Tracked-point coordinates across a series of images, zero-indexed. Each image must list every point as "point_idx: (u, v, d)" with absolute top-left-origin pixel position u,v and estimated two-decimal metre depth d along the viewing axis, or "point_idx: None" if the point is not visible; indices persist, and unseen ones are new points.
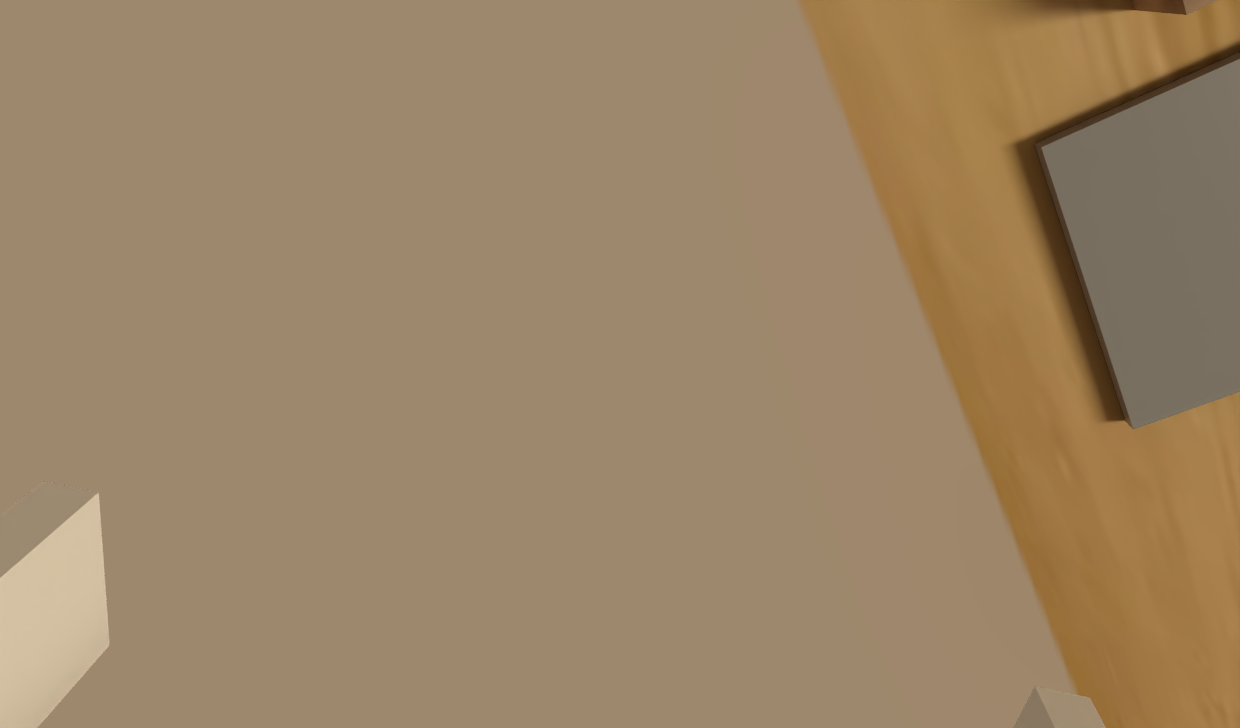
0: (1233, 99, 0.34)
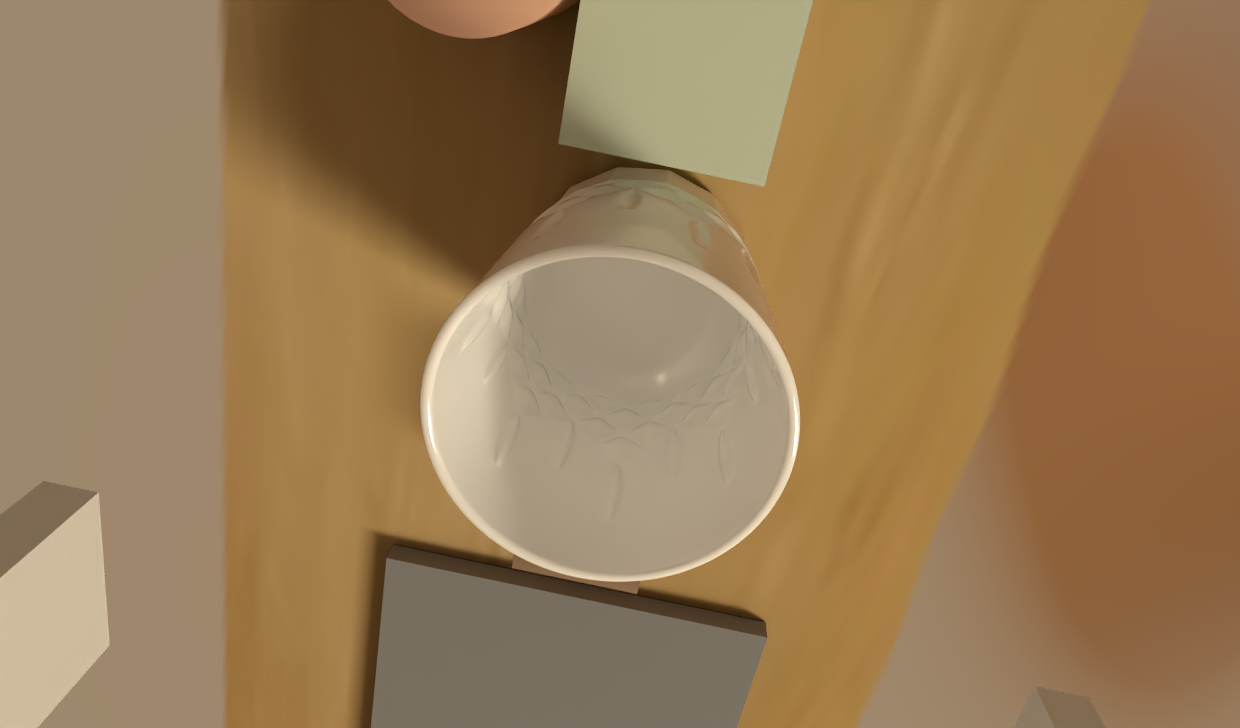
0: (567, 626, 0.32)
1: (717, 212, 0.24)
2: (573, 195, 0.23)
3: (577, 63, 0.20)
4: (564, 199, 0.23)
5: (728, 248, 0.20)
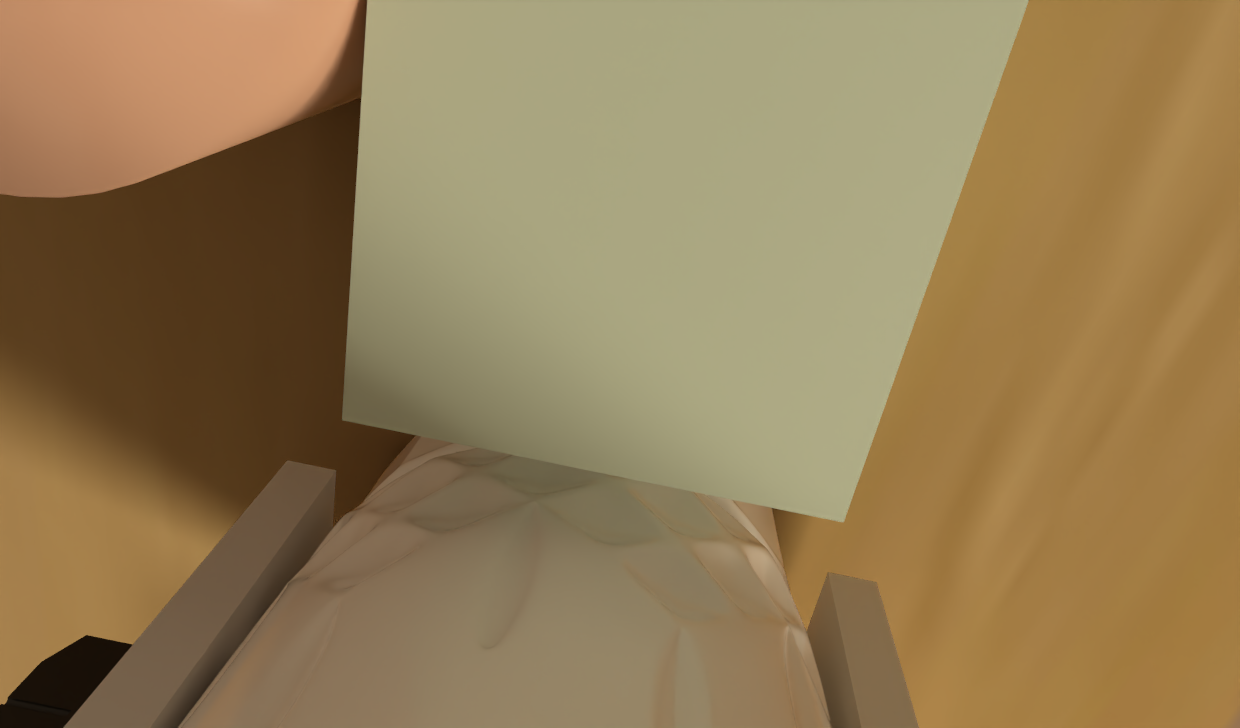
0: None
1: None
2: (417, 477, 0.11)
3: (370, 240, 0.08)
4: (396, 488, 0.11)
5: None
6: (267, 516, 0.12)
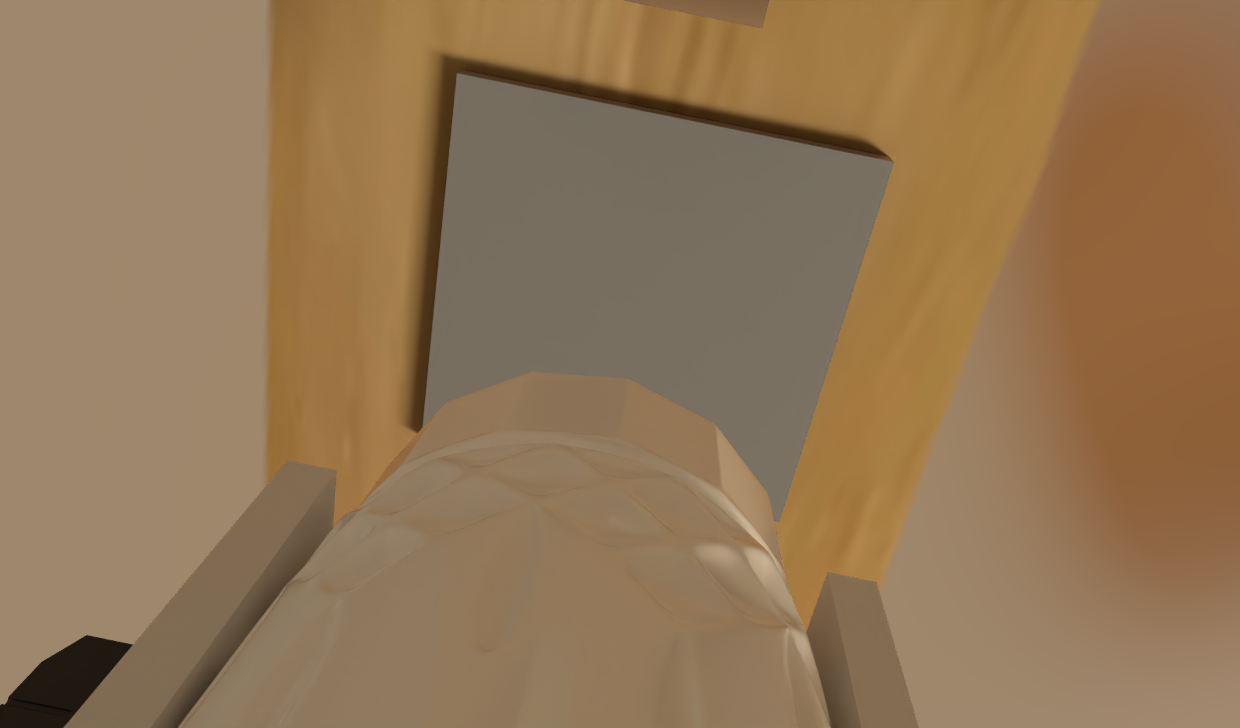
0: (663, 160, 0.28)
1: (723, 495, 0.12)
2: (416, 479, 0.11)
3: None
4: (395, 489, 0.11)
5: None
6: (268, 516, 0.12)
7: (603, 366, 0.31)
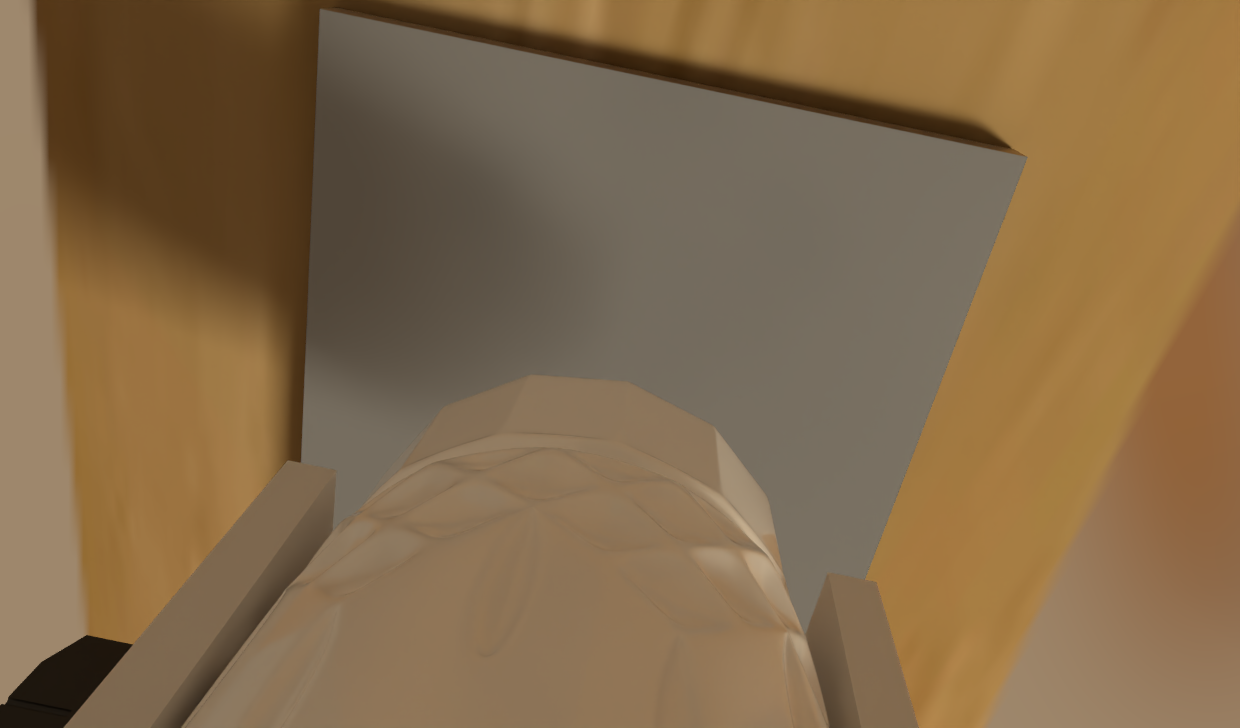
0: (654, 153, 0.18)
1: (722, 498, 0.12)
2: (415, 483, 0.11)
3: None
4: (395, 493, 0.11)
5: None
6: (268, 516, 0.12)
7: None
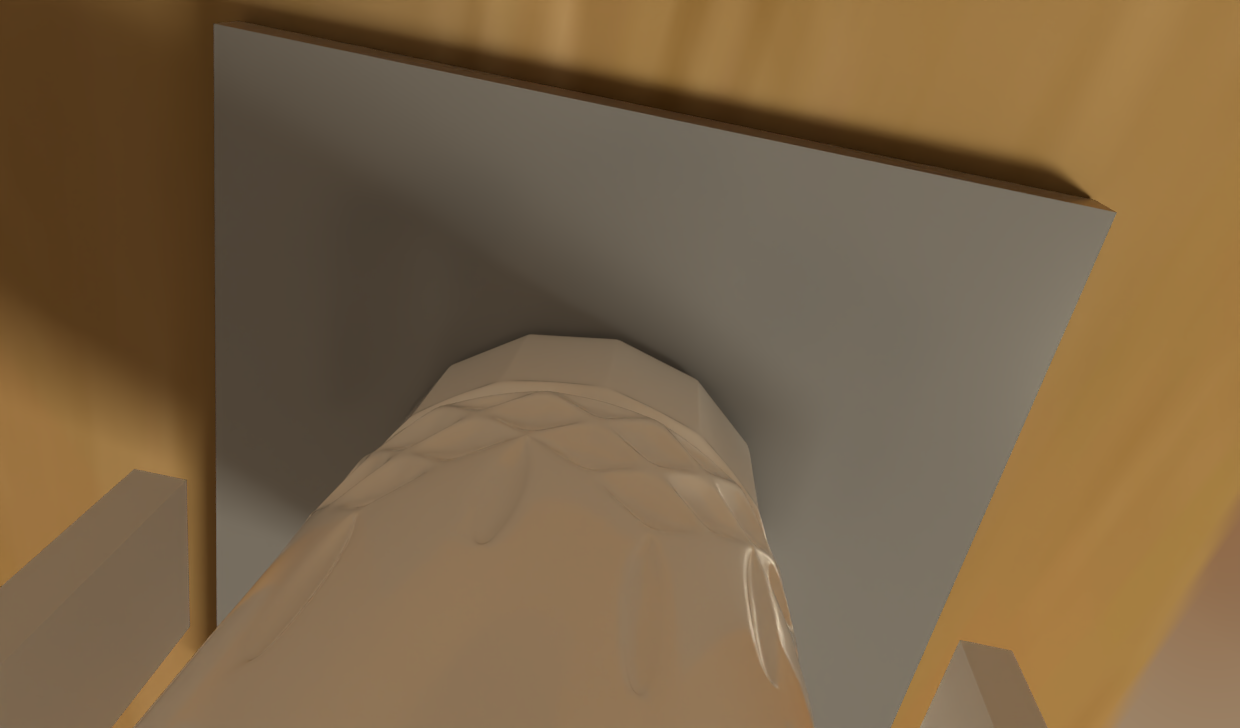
0: (641, 205, 0.14)
1: (700, 438, 0.13)
2: (424, 423, 0.12)
3: None
4: (406, 432, 0.12)
5: (713, 622, 0.09)
6: (95, 530, 0.11)
7: None
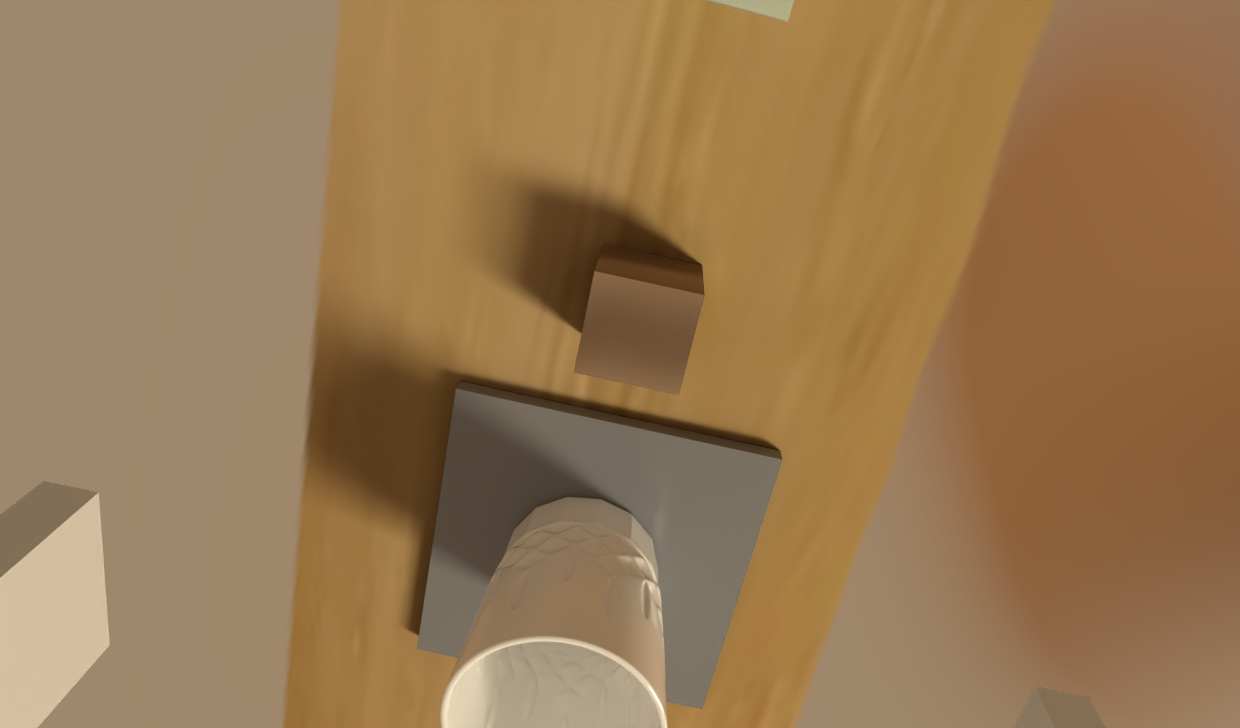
0: (610, 452, 0.37)
1: (631, 541, 0.36)
2: (535, 537, 0.35)
3: None
4: (529, 540, 0.35)
5: (629, 601, 0.32)
6: None
7: None
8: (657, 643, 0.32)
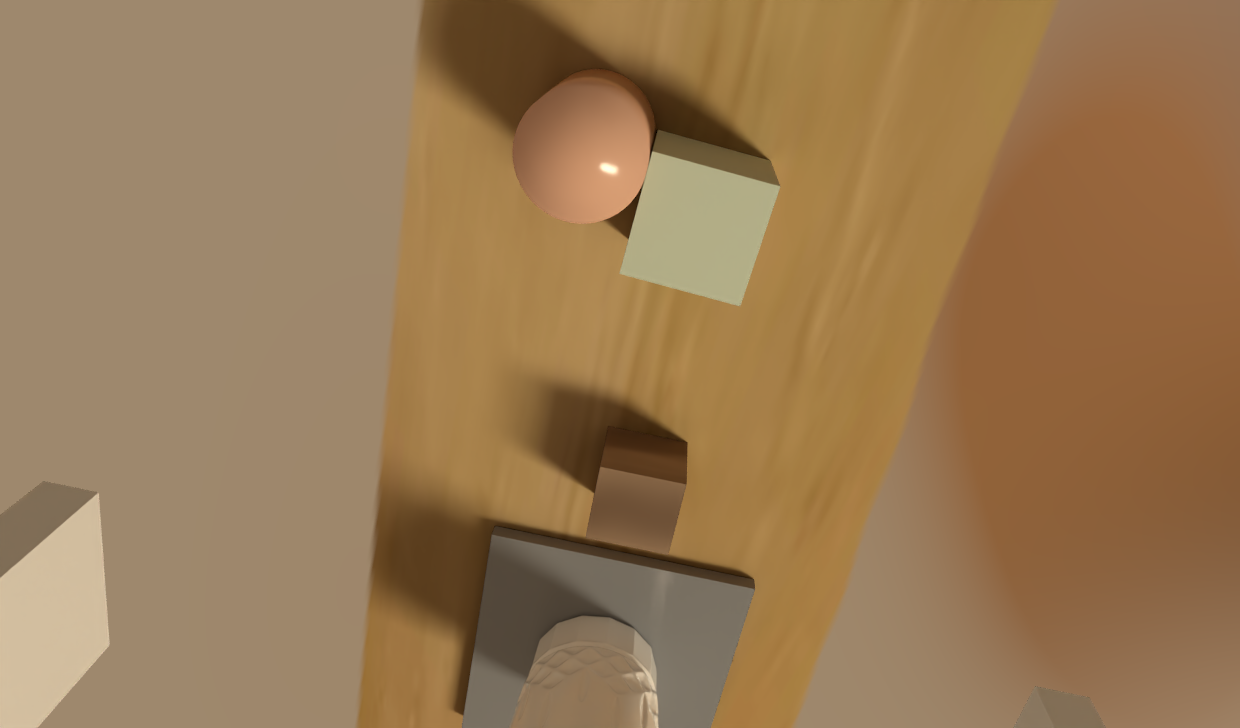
0: (616, 582, 0.46)
1: (633, 656, 0.45)
2: (557, 656, 0.45)
3: (635, 230, 0.34)
4: (552, 659, 0.44)
5: (630, 717, 0.41)
6: None
7: None
8: None
